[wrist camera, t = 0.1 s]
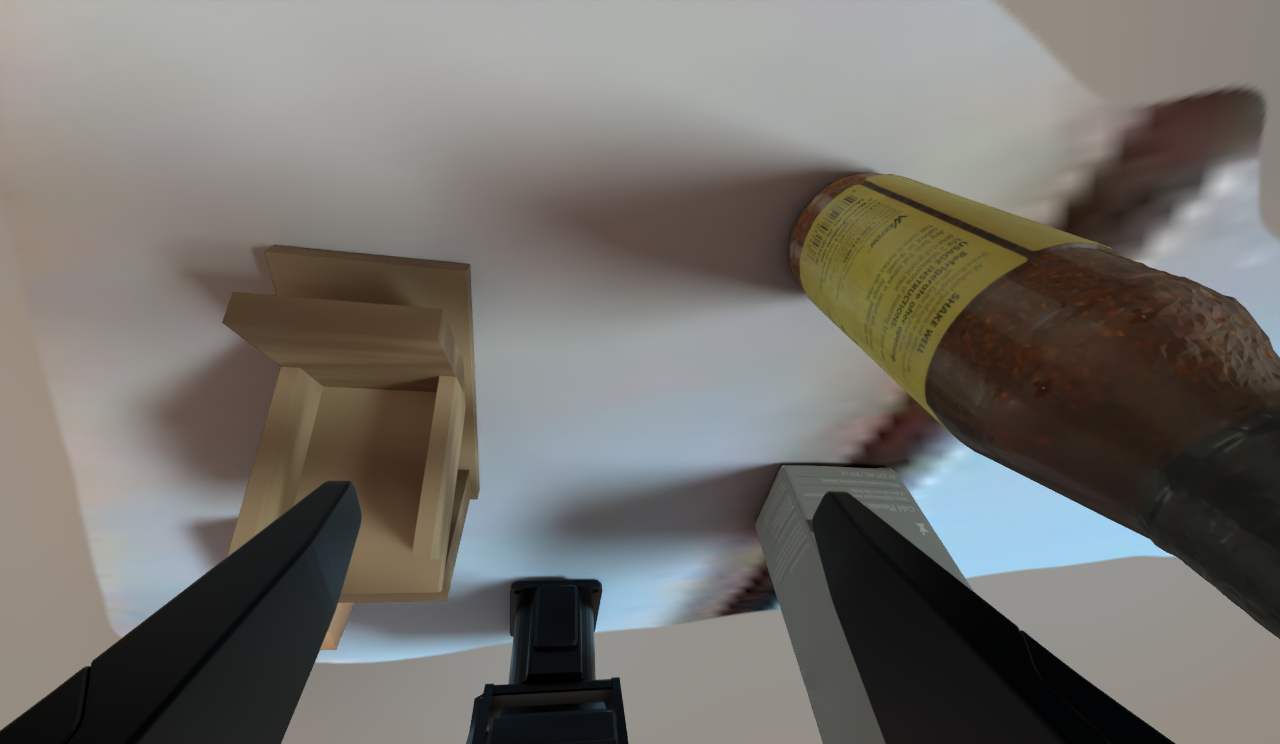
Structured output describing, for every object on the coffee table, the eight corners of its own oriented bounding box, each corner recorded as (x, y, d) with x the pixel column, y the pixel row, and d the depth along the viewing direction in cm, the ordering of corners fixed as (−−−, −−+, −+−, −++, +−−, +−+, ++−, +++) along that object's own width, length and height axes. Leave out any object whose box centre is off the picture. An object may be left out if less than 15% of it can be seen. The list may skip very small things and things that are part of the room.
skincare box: (892, 464, 32) (1112, 752, 19) (851, 533, 36) (1009, 813, 23) (773, 460, 30) (923, 770, 17) (743, 533, 34) (847, 831, 21)
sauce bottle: (793, 314, 25) (1228, 848, 8) (772, 195, 21) (1456, 718, 5) (921, 268, 24) (1667, 750, 8) (921, 138, 20) (2308, 515, 4)
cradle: (479, 488, 29) (448, 634, 22) (339, 486, 28) (257, 640, 20) (470, 264, 21) (417, 375, 14) (274, 245, 20) (107, 357, 13)
